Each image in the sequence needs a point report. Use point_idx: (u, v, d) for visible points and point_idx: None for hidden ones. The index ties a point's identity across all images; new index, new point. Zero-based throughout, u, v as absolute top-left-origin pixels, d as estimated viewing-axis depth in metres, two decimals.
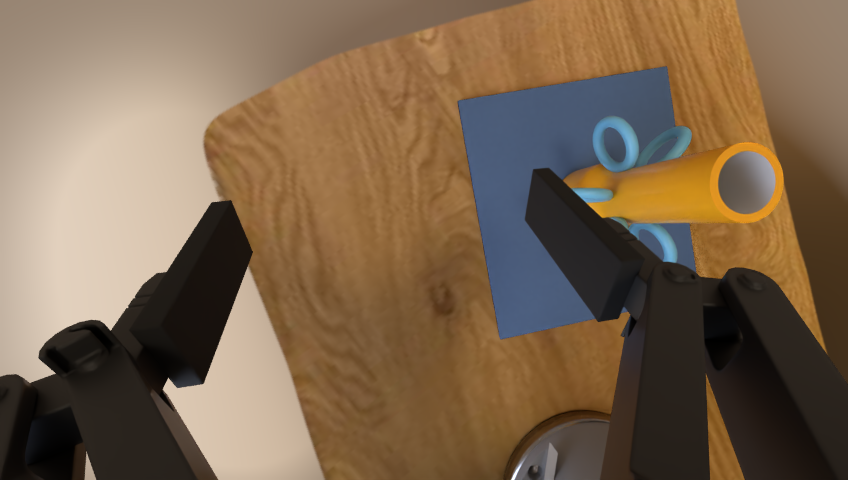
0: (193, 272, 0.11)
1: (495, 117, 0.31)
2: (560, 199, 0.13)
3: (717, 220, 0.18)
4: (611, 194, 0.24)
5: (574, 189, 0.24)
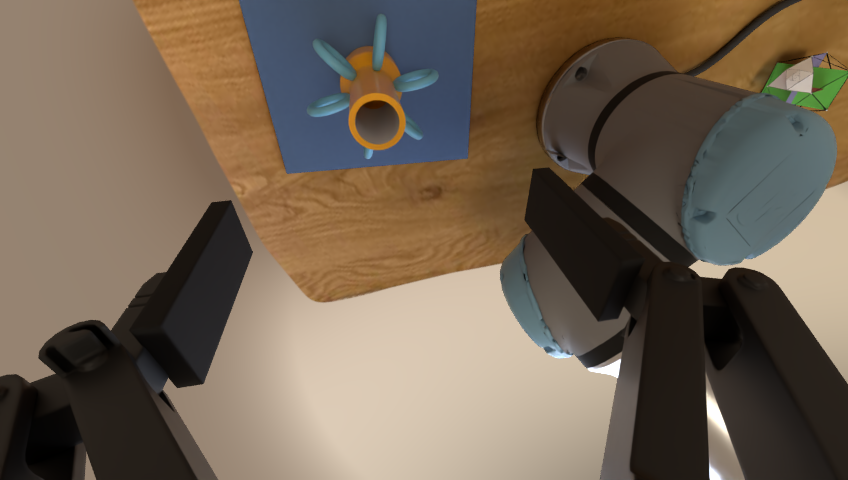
0: (193, 272, 0.11)
1: (298, 147, 0.40)
2: (560, 199, 0.13)
3: None
4: None
5: (365, 154, 0.33)
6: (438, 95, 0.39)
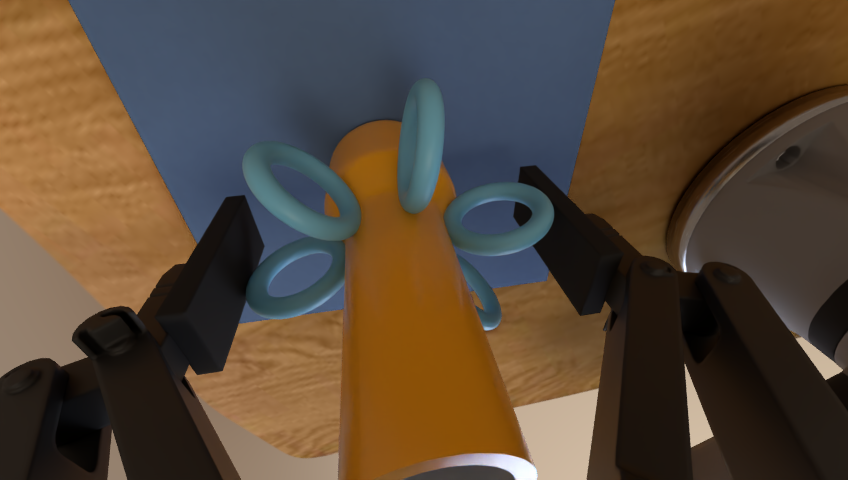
0: (212, 263, 0.11)
1: None
2: None
3: None
4: None
5: None
6: None
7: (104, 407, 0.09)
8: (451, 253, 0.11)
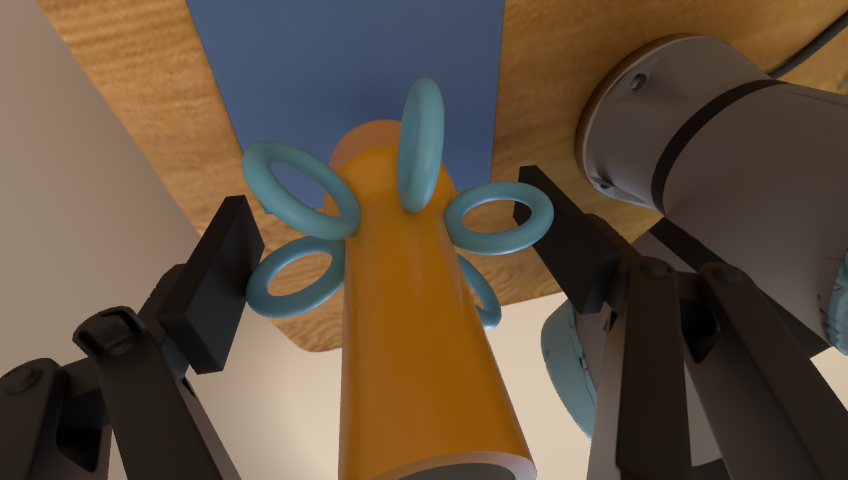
0: (212, 263, 0.11)
1: None
2: None
3: None
4: None
5: None
6: (454, 113, 0.30)
7: (104, 407, 0.09)
8: (451, 252, 0.11)
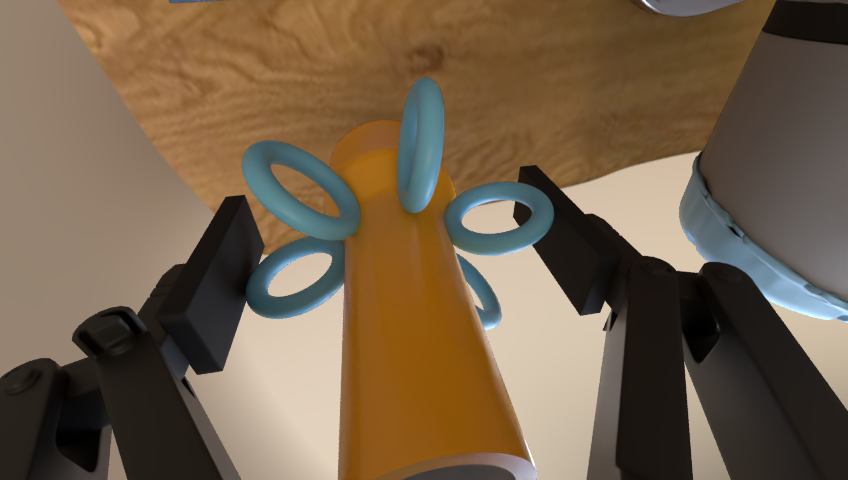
0: (212, 263, 0.11)
1: None
2: None
3: None
4: None
5: None
6: None
7: (104, 407, 0.09)
8: (451, 253, 0.11)
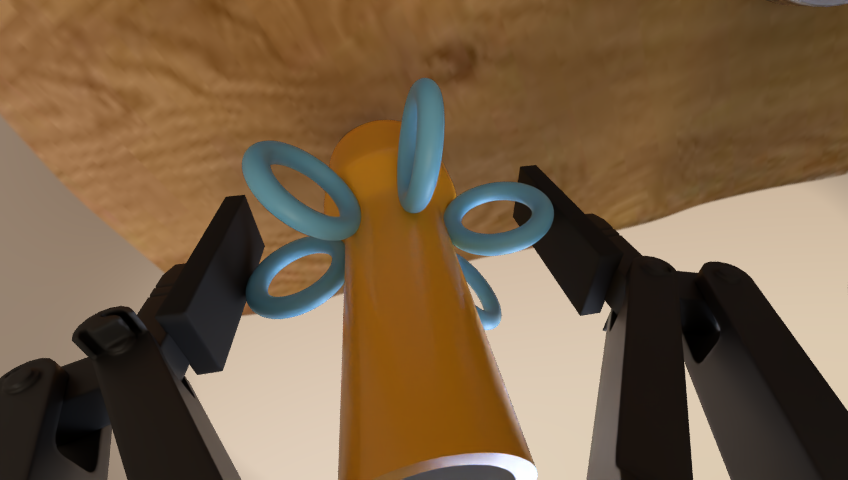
0: (212, 263, 0.11)
1: None
2: None
3: None
4: None
5: None
6: None
7: (104, 407, 0.09)
8: (451, 253, 0.11)
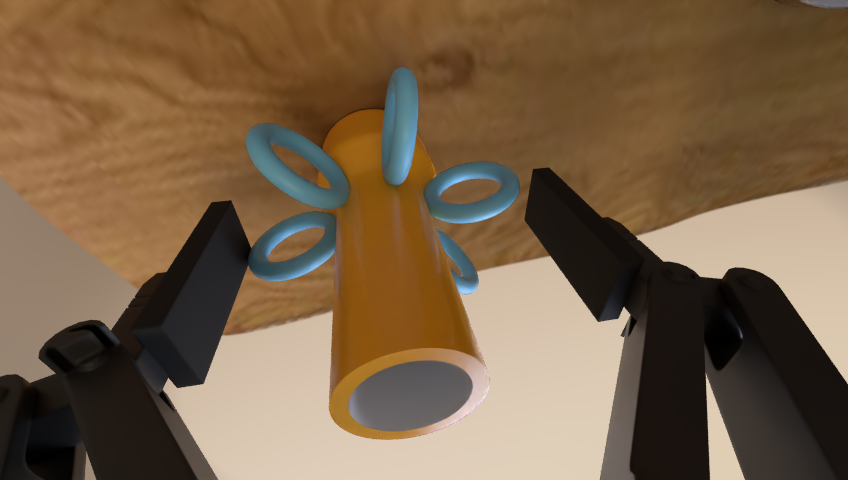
0: (193, 272, 0.11)
1: None
2: (560, 199, 0.13)
3: None
4: None
5: None
6: None
7: (75, 425, 0.08)
8: (428, 218, 0.13)
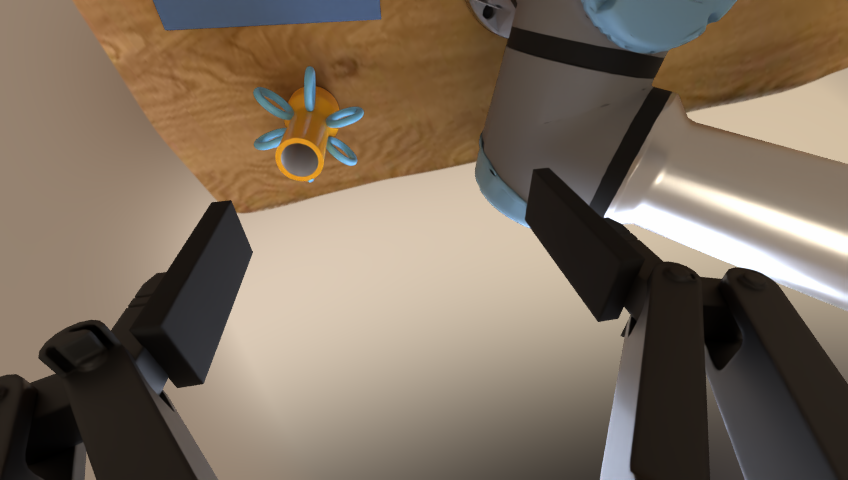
0: (193, 272, 0.11)
1: None
2: (560, 199, 0.13)
3: None
4: None
5: None
6: None
7: (75, 425, 0.08)
8: (320, 122, 0.35)
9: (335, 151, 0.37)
